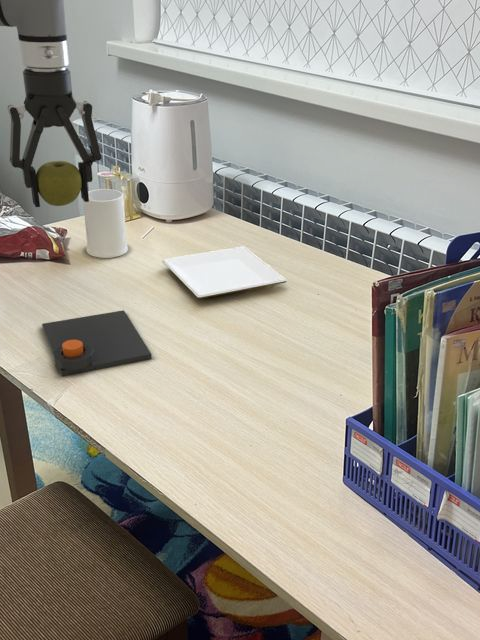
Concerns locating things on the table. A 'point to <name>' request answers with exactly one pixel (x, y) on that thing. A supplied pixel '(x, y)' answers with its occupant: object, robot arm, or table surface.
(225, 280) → the plate
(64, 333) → the scale
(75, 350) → the button
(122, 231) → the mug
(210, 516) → the table surface
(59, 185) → the apple
